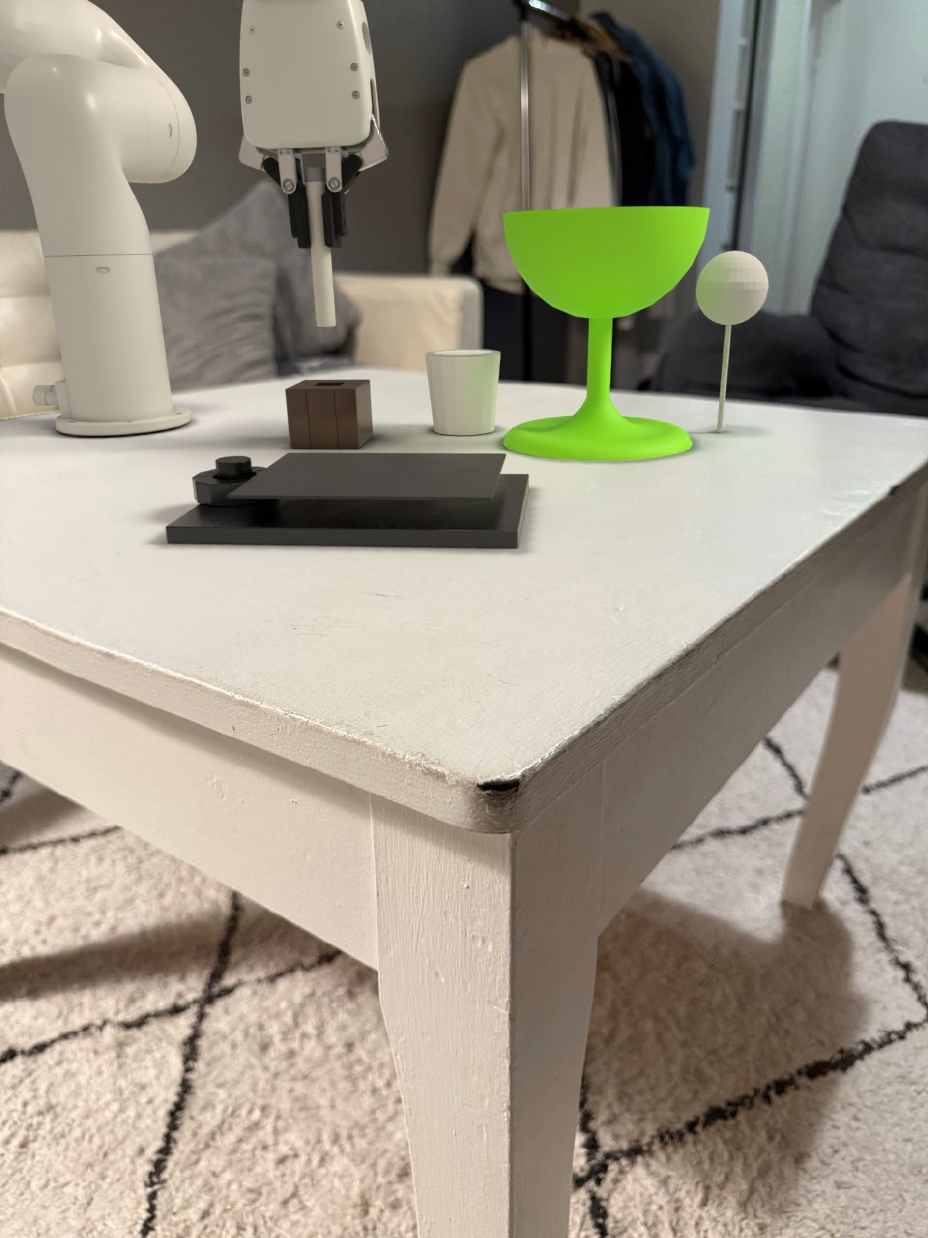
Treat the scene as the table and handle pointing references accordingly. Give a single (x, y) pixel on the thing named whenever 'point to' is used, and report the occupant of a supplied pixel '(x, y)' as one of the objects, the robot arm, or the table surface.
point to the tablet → (351, 519)
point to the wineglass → (602, 312)
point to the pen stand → (329, 414)
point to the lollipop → (731, 298)
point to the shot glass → (463, 390)
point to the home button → (233, 467)
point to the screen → (377, 477)
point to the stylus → (319, 249)
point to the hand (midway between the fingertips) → (320, 246)
